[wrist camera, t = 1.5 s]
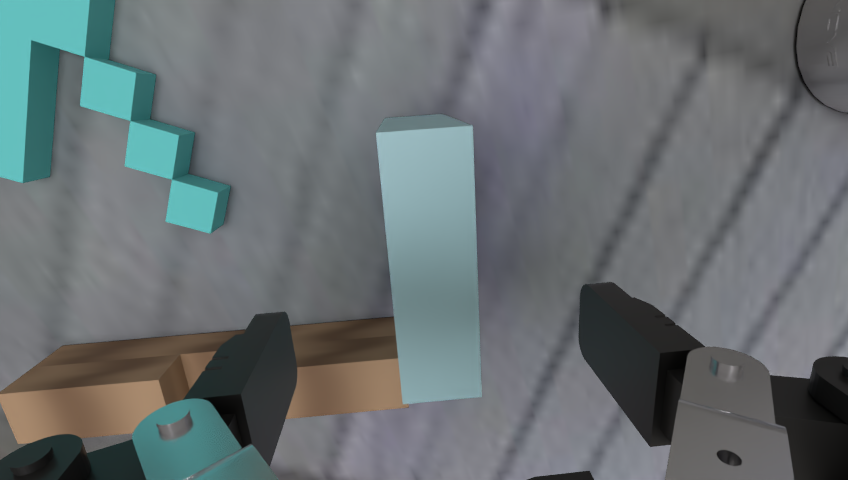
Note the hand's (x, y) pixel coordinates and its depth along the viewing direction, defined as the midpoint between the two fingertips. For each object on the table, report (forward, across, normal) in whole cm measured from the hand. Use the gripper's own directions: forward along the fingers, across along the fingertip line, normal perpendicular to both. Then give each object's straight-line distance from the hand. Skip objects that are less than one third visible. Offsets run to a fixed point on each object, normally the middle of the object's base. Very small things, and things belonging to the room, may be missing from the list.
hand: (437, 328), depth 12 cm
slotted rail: (+14, +11, +8) cm, 19 cm away
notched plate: (+13, 0, 0) cm, 13 cm away
